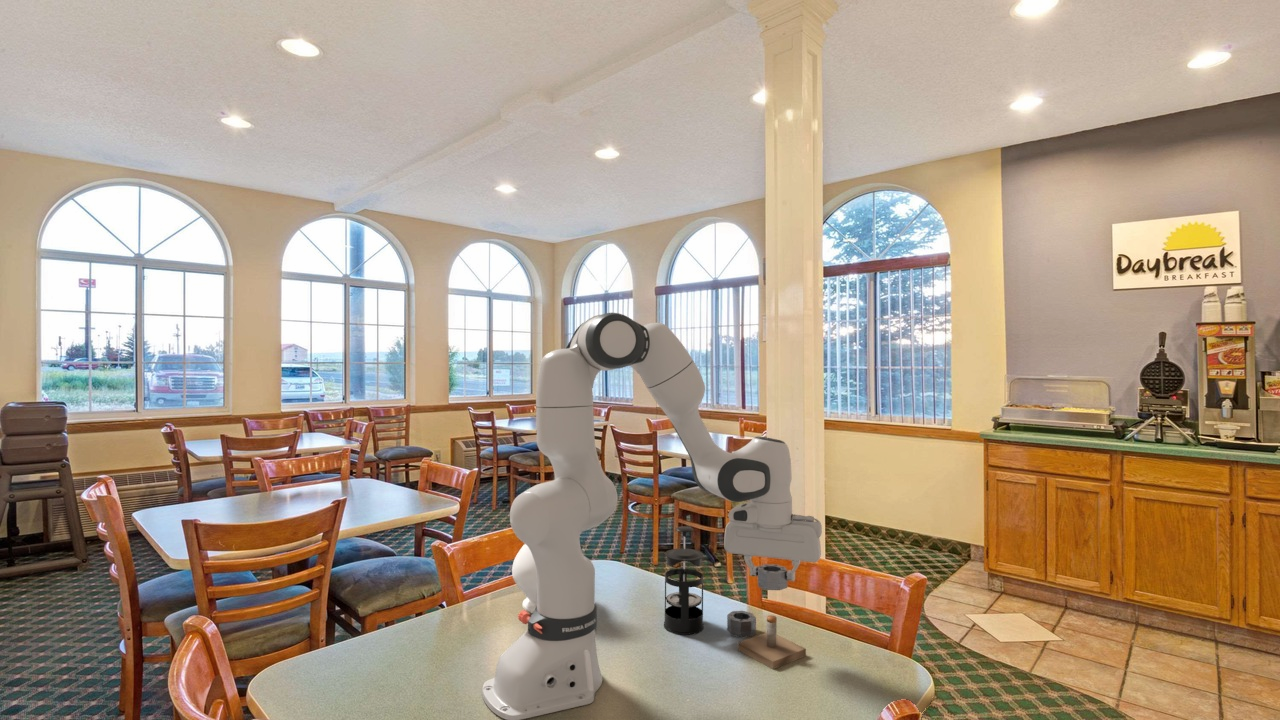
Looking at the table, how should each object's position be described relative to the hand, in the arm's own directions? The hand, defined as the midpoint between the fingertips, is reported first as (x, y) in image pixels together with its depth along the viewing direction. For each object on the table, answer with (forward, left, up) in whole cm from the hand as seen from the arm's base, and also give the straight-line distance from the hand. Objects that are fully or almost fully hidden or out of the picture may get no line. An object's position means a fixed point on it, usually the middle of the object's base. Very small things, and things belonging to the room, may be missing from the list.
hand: (772, 577), depth 128 cm
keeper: (0, 0, -16) cm, 16 cm away
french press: (-7, +21, -16) cm, 27 cm away
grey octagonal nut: (0, 0, -2) cm, 2 cm away
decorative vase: (-28, +50, -16) cm, 59 cm away
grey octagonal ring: (+2, +11, -16) cm, 19 cm away
